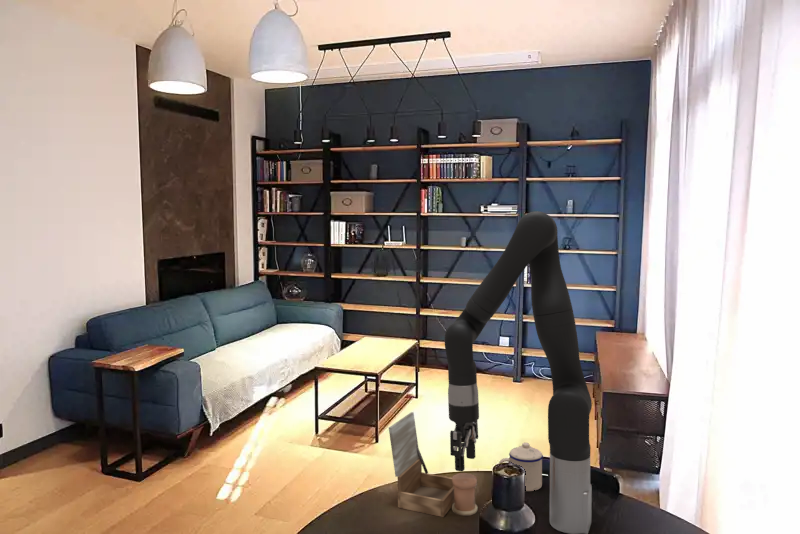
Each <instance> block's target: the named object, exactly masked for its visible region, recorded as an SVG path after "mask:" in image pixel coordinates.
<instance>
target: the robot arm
mask: <svg viewBox="0 0 800 534" xmlns="http://www.w3.org/2000/svg"><path fill="white" fill-rule="evenodd" d="M558 234H559V233H558V227H557V223H556V221H555V220H554V218H553V217H552V216H551V215H549V214H548V213H546V212H543V211H540V210H539V211H537V210H536V211H535V210H534V211H531V212H527V213H526V214H524V215H523V216H522V217H521V218H519V221H518V222H517V224H516V227H515V229H514V232H513V233H512V236H511V238H510V240H509V241H508V244H507V246H506V247H505V249H504V250H503V252H502V254H501V256H500V257H499V259H497V262H496V263H495V264H494V265H493V267H492V268H491V270H490V271H489V272H488V273H487V275H486V276H485V277H484V279H482V281H481V282H480V284H479V286H477V288H476V289H475V290H474V292H473V294H471V297H470V298H469V299H468V301H467V303H466V304H465V305H466V306H465V308H464V309H463V310H462V311H461V313H460V314H459V316H457V318H456V320H455V321H454V322H453V323H451V324H450V325H449V326H448V327H447V328H446V330H445V333H444V334H445V335H444V348H445V349H444V350H445V356H446V361H447V365H448V368H447V371H448V372H447V373H448V378H447V379H448V388H447V389H448V390H447V398H448V418H449V420H450V421H451V422H453V423H455V426H454V430H450V432H449V434H450V435H449V437H450V440H449V441H450V443H449V444H450V456H452V457H453V456H454V469H455V471H457V472H464V471H465V467H466V466H465V457H466V459H470V460H475V458H476V443H477V440H478V439H479V427H478V426H479V425H478V420H479V418H480V408H479V405H480V404H479V388H478V378H477V375H478V373H477V364H476V361H475V360H474V349H473V344H474V343H475V342H476V340H477V339H478V338H479V336H480V335H481V333H482V331H483V329H484V328H485V326H486V325H487V323H488V322H489V321H490V320H491V319H492V317H494V315H495V314H496V312H497V311H498V310H499V308H500V307H501V306H502V304H503V302H505V300H506V298H507V297H508V296H509V294H510V293H511V290H512V289H513V287H514V286H515V284H516V282H517V280H518V279H519V277H520V276H521V274H522V273H523V272H524V270H525V269H526V267H527V266H528V267H529V271H530V297H531V308H532V314H533V315H532V316H533V321H534V326H535V330H536V334H537V337H538V338H537V339H538V341H539V343H540V346H541V348H542V350H543V352H544V354H545V356H546V359H547V361H548V364H549V368H550V374H551V382H552V383H551V384H552V396H551V397H550V400H549V402H548V406H547V433H548V434H547V437H548V443H549V444H548V445H549V524H550V525H551V527H552V528H553V529H555V530H556V531H558V532H562V533H564V534H589V531H590V529H591V525H592V495H593V494H592V492H593V491H592V484H591V444H590V414H591V411H592V408H593V407H592V406H593V403H592V397H591V394H590V391H589V388H588V386H587V382H586V379H585V375H584V372H583V368H582V364H581V358H580V348H579V339H578V333H577V325H576V320H575V315H574V310H573V304H572V301H571V297H570V292H569V290H568V286H567V283H566V279H565V276H564V273H563V270H562V266H561V261H560V253H559V240H558V239H559V238H558ZM465 452H466V453H465ZM465 454H466V456H465Z"/></svg>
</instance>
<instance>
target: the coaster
mask: <svg viewBox="0 0 800 534" xmlns="http://www.w3.org/2000/svg"><path fill="white" fill-rule="evenodd" d="M451 511H452V512H453V513H454V514H455V515H458V516H464V517H468V516H472V515H473V516H474V515H475V514H476V513H477V512H478V505H477V504H476V503H475V508H474V509H473V510H471V511H460V510H457V509H456V508H455V507H454V503H453V504H452V507H451Z"/></svg>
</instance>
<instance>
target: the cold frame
mask: <svg viewBox="0 0 800 534" xmlns="http://www.w3.org/2000/svg"><path fill="white" fill-rule="evenodd" d="M388 433H389V439H390V446H391V447H390V448H391V454H392V461H393V470H394V475H395V477H397V508H400V509H404V510H408V511H413V512H418V513H422V514H427V515H432V516H437V517H441V518H444V517H445V516H446V514H447V513H448V512H449V511H450V510H451V509H452V504H453V503H454V486H453V485H452V477H449V476H444V475H438V474H433V473H429V471H428V469H427V466H426V464H425V461H424V459H423V456H422V453H421V451H420V449H419V442H418V435H417V428H416V421H415V414H414V411H413V412H412V411H411V412H409V413H408V414H407V415H405V416H403V417H402V418H401V419H399V420H398V421H396V422H395V423H393V424H391V425H390V426H389V427H388ZM422 469H423V470H422ZM422 471H424V472H422Z"/></svg>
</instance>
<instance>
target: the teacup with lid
mask: <svg viewBox="0 0 800 534" xmlns="http://www.w3.org/2000/svg"><path fill="white" fill-rule="evenodd" d="M530 445H531V444H530V443H528V442H523V443H522V445H519V446H517V447H514V448H511V449H510V450H509V453H508V455H509V457H505V458H501V459H500V460H499V462H498V465H499V464H500V463H502V464H504V463H505V462H509V463H510V462H512V463H514V464H517V465H520V466H522V467H523V468H524V469H525V471H526V475H525V486H526V491H525V492H535V491H538V490H539V489H541V488H542V486H543V458H544V454H543V452H542V451H540V450H539V449H538V448H535V447H533V446H530ZM534 490H535V491H534Z"/></svg>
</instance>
